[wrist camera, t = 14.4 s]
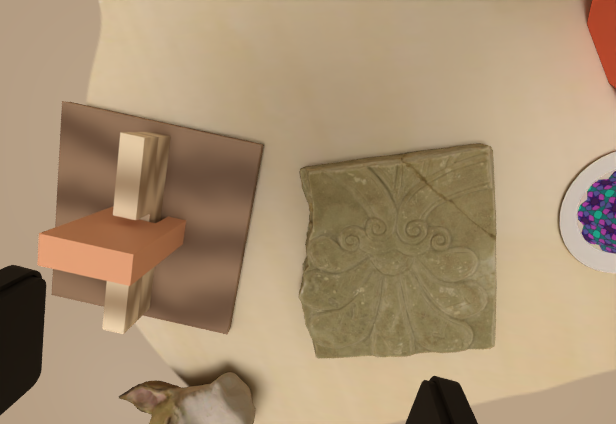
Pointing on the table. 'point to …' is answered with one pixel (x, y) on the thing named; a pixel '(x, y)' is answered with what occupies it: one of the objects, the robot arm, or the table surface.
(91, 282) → the slotted stand
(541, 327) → the table surface
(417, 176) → the decorative tile
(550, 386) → the table surface
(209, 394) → the ceramic sculpture
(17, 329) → the robot arm
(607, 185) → the pudding
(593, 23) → the french fries container
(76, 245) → the notched plate
